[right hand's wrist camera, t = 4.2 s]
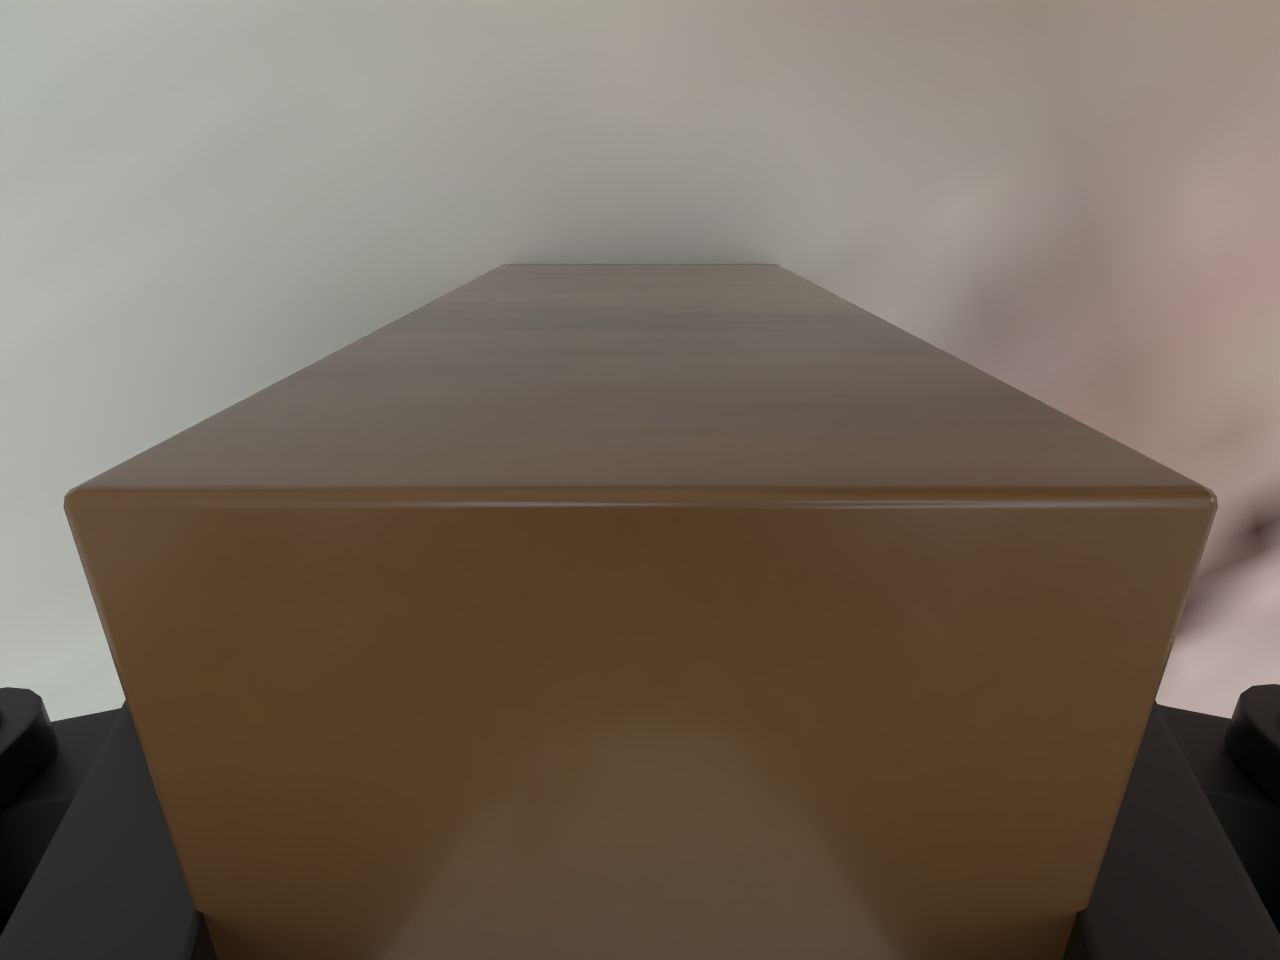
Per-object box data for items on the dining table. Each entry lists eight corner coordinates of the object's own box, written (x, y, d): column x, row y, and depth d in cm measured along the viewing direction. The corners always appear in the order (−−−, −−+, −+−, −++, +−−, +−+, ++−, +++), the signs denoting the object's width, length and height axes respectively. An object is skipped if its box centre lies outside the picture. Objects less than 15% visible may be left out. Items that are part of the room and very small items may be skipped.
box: (500, 263, 16) (46, 491, 4) (779, 264, 16) (1230, 491, 4) (550, 989, 24) (465, 1751, 12) (729, 989, 24) (815, 1751, 12)
